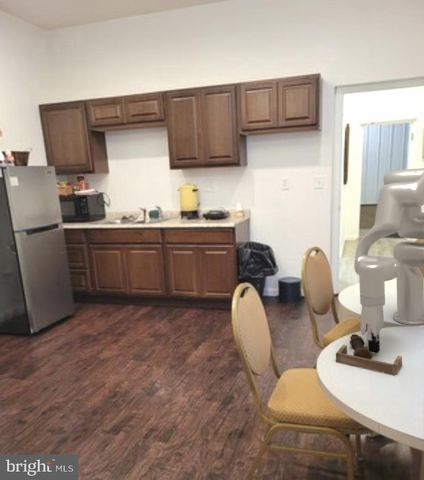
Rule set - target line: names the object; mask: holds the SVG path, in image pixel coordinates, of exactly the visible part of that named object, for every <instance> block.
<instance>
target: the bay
mask: <svg viewBox="0 0 424 480" xmlns="http://www.w3.org/2000/svg"><path fill="white" fill-rule="evenodd" d="M335 362H336V363H340V364H343V365H348V366H353V367H356V368H362V369H365V370H369V371H374V372H379V373H382V372H384V373H383V374H387V373H389V374H388V375H391V374H393V375H392V376H395V375H397V376H398V375H399V372H400V371H401V368H402V366H403V356H401V355H397V356H396V358H395V360H394V362H393V363H390V362H385V361H380V360H376V359H375V360H374V359H372V358H371V359H366V358H362V357H357V356H353V354H352V355H351V354H349V353H348V345H347V344H342V345H341V346H340V348H339V349H338V350H337V351H336V352H335Z"/></svg>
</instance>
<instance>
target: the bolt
mask: <svg viewBox="0 0 424 480" xmlns="http://www.w3.org/2000/svg"><path fill="white" fill-rule="evenodd" d="M349 339H350V340H349V344H350V346H351V347H352V348H353V350H354V352H353V353H352V356H357V357H362V358H366V359H371V360H372V359H373V354H372V352H370V351H369V349H368V346H365V345H366V342H365V341H364V339H363V337H362V336H360V335H358V334H356V333H355V334H354V333H353V334H351V335H350V338H349Z"/></svg>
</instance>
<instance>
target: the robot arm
mask: <svg viewBox="0 0 424 480" xmlns="http://www.w3.org/2000/svg"><path fill="white" fill-rule="evenodd" d="M382 181H383V186H382V187H381V188H380V190H379V192H378V200H377V205H376V211H375V216H374V217H375V218H374V224H373V226H372V227H371V228H370V229H369V230H368V231H366V233H365V234H364V235H363V236H362V238H361V239H360V241H359V243H358V244H357V247H356V251H355V256H354V257H355V258H354V262H353V263H354V264H353V266H354V267H353V268H354V271H355V273H356V275H358V277H359V281H358V282H359V302H360V303H359V304H360V306H361V308H360V309H361V311H360V334H361V335H362V336H363V335H365V334H366V341H367V348H368V349H369V351H370V352H371V353H375V354H379V353H380V351H381V348H380V347H381V345H380V344H381V341H380V337H381V336H380V335H381V334H380V332H381V331H382V329H383V328H384V323H385V322H384V306H385V305H386V292H385V291H386V290H385V282H387V281H393V280H394V279H396V309H397V311H396V312H394V313H393V315H392V317H393V320H394V321H396V322H398V323H400V324H404V325H409V326H410V325H411V326H419V325H424V274H423V272H422V271H421V269H420V268H424V241H410V240H409V241H408V240H407V241H400V242H397V243H396V244H395V245H394V247H393V250H392V252H393V253H392V255H393V257H389V256H379V255H368V254H369V251H370V248H371V247H372V245H374V244H375V243H376V242H377V241H379V240H381V239H384V238H385V237H388V236H391V235H394V234H397V235H398V236H399V237H400V238H403V239H412V240H413V239H414V240H424V213H423V212H422V206H424V167H420V168H407V169H397V170H392V171H391V170H390V171H387V173H385V174H384V175H383V180H382ZM419 267H420V268H419Z"/></svg>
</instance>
